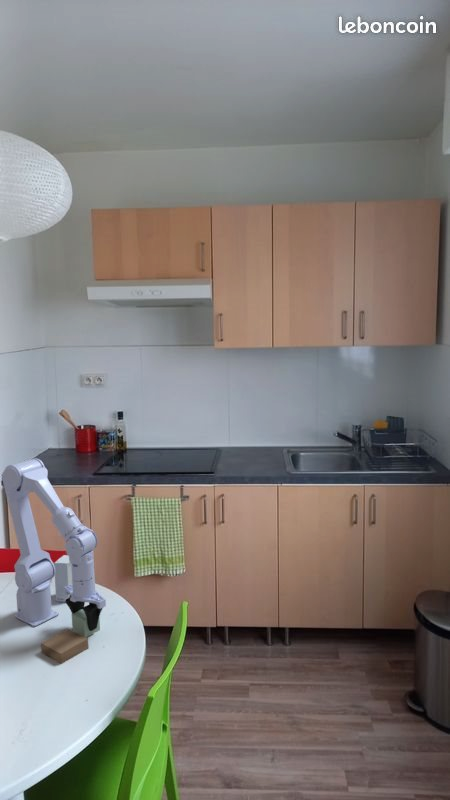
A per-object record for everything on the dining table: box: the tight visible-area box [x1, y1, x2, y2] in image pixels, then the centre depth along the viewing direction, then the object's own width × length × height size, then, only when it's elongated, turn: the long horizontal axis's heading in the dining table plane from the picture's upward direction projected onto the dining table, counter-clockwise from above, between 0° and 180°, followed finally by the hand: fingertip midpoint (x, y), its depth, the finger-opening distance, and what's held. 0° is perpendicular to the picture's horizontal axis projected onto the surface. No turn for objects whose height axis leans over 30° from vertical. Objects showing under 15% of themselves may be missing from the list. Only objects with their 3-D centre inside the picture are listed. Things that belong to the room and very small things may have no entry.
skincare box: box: [53, 554, 72, 603], centre depth 167 cm, size 6×4×12 cm
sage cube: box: [71, 609, 101, 638], centre depth 149 cm, size 5×5×5 cm
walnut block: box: [40, 628, 89, 665], centre depth 140 cm, size 8×8×3 cm
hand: (86, 626), depth 149 cm, fingers closed on sage cube, 5 cm apart
